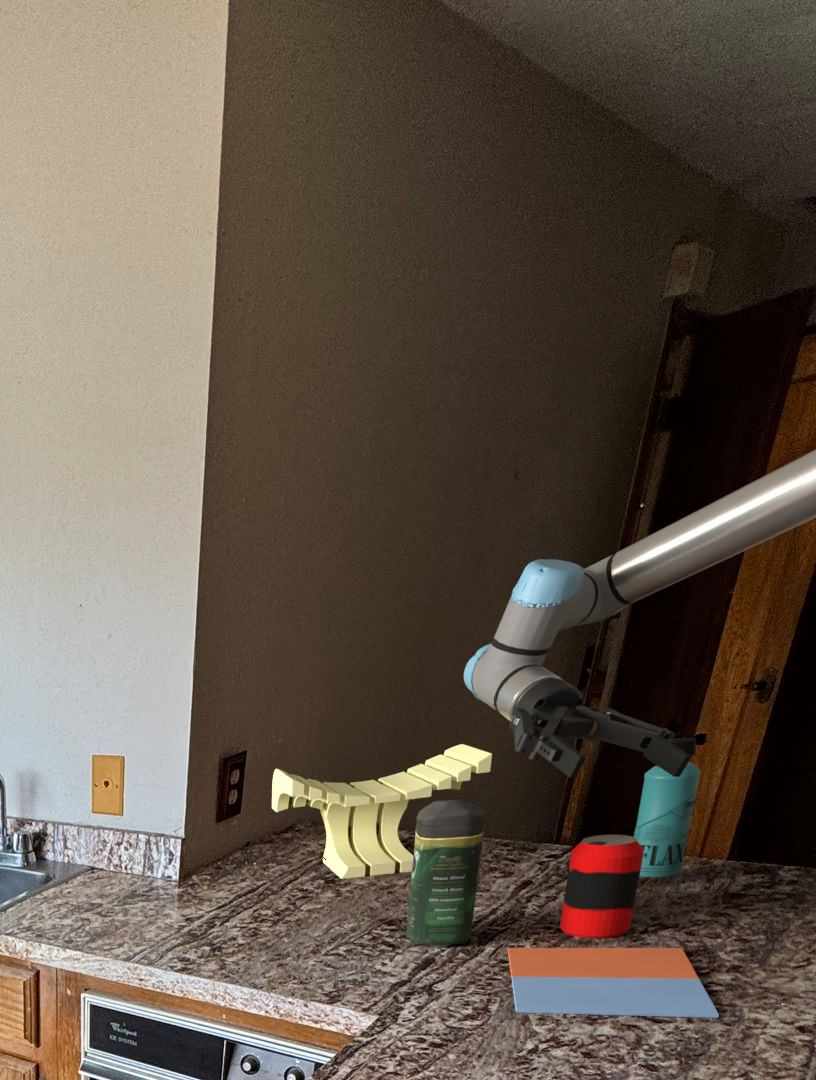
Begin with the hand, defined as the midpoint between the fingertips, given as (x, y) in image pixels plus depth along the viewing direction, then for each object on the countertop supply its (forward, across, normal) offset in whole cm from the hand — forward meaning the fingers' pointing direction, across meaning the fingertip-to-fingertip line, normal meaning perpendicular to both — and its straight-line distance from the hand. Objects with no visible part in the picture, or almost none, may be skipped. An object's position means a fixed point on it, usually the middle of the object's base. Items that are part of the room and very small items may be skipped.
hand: (630, 767), depth 125 cm
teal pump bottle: (-8, -19, -21) cm, 30 cm away
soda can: (+8, 0, -19) cm, 21 cm away
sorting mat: (+24, +10, -16) cm, 31 cm away
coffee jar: (+3, +16, -24) cm, 29 cm away
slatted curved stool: (-38, +5, -35) cm, 52 cm away
